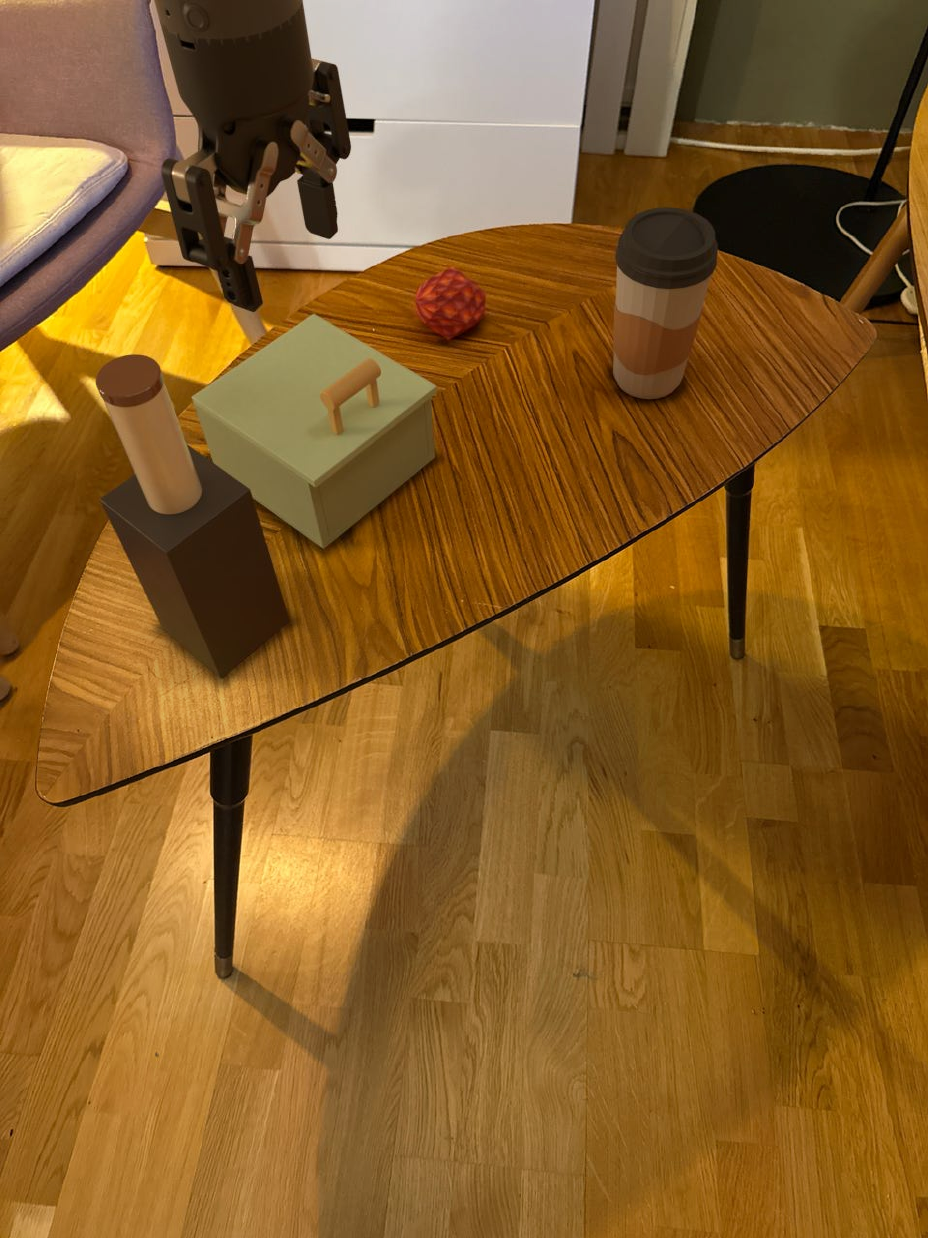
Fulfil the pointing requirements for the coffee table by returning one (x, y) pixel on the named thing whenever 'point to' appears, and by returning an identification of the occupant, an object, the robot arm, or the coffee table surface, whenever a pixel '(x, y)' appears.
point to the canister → (150, 432)
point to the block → (203, 566)
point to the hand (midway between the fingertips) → (285, 268)
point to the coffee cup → (659, 297)
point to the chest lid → (314, 398)
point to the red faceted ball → (450, 303)
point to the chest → (339, 495)
